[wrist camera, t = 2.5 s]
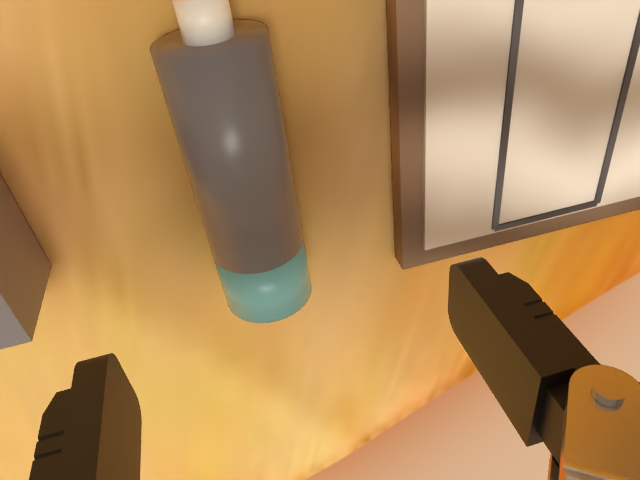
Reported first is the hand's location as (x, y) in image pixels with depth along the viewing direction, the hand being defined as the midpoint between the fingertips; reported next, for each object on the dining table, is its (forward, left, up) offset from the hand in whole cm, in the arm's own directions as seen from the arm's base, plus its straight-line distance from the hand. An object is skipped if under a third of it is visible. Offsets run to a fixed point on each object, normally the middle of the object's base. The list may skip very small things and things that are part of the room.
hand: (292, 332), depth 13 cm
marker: (0, 0, -10) cm, 10 cm away
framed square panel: (0, +13, -10) cm, 16 cm away
